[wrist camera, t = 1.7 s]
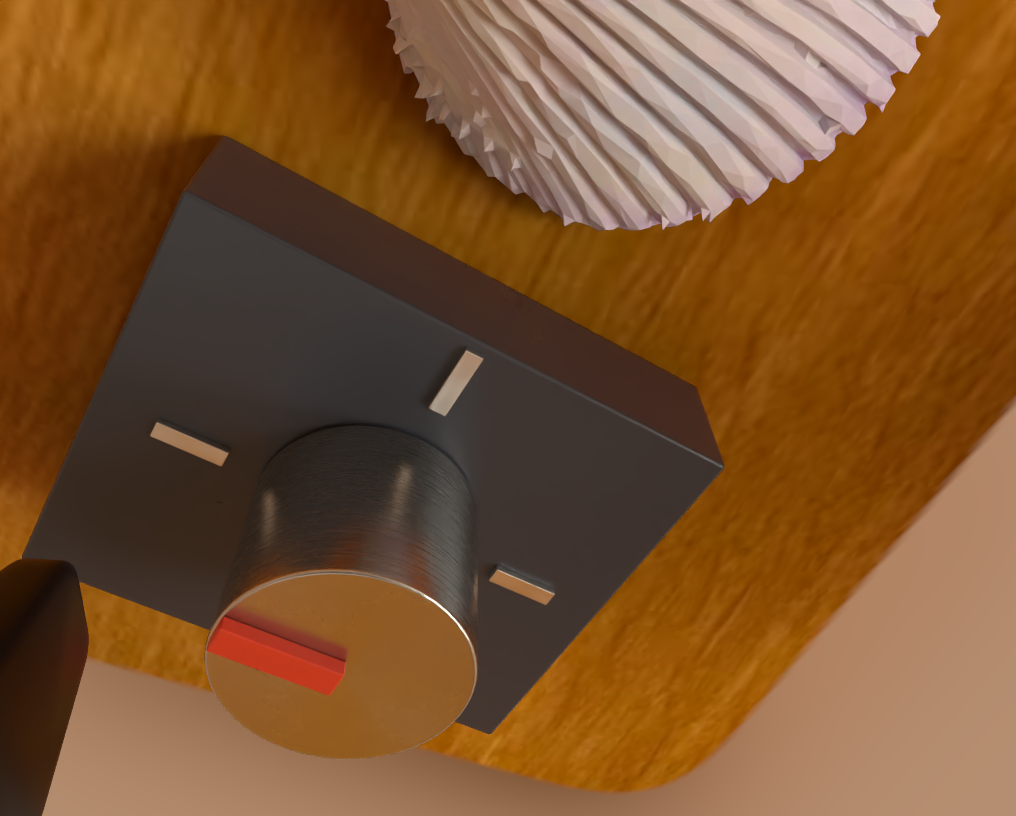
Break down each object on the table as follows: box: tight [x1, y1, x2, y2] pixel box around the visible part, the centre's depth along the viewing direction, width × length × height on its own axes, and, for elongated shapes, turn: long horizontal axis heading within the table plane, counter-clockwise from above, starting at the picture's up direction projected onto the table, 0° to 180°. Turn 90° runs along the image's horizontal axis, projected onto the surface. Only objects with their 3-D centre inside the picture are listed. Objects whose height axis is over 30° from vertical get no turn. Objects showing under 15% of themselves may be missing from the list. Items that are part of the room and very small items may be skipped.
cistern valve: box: [22, 136, 724, 734], centre depth 20 cm, size 11×9×3 cm
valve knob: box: [205, 425, 478, 759], centre depth 17 cm, size 4×4×4 cm
